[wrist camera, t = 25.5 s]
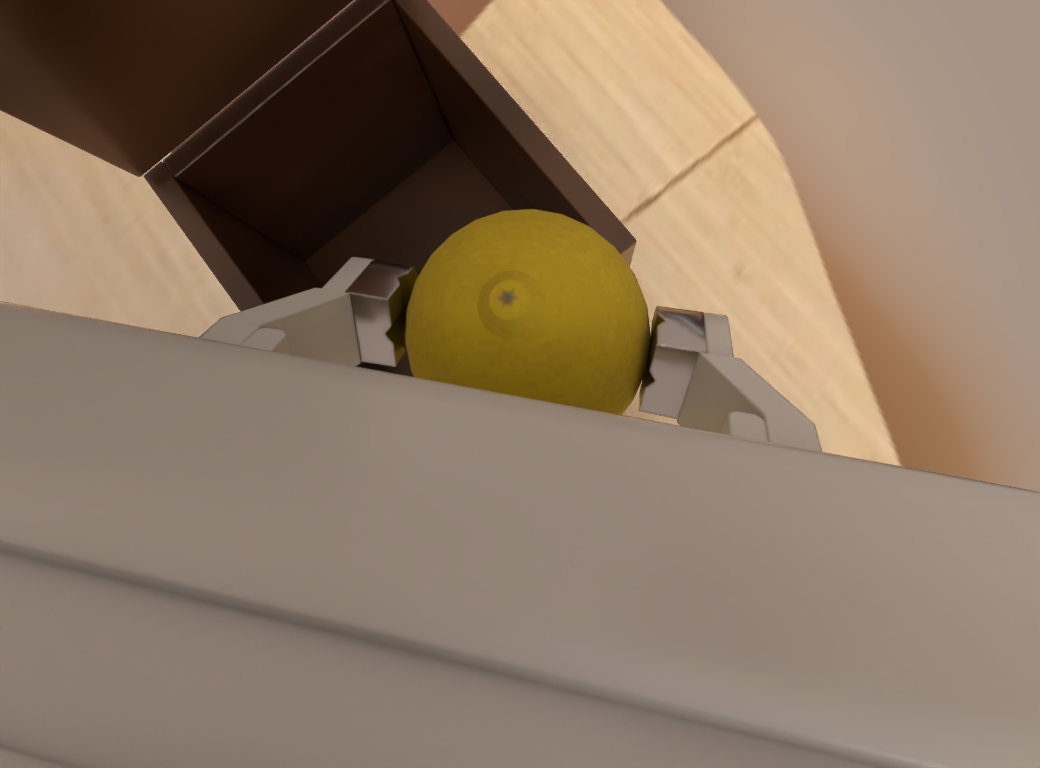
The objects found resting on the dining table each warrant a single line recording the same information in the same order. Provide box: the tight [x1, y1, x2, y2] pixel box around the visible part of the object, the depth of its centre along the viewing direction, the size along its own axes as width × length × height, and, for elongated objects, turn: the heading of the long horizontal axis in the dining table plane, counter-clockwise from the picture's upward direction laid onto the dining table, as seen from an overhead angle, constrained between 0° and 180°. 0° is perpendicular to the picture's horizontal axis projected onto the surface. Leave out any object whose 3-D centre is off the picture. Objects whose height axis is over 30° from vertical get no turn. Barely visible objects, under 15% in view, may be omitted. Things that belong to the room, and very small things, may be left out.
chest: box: [144, 0, 636, 377], centre depth 25 cm, size 14×12×11 cm
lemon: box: [405, 209, 651, 415], centre depth 13 cm, size 6×6×8 cm
